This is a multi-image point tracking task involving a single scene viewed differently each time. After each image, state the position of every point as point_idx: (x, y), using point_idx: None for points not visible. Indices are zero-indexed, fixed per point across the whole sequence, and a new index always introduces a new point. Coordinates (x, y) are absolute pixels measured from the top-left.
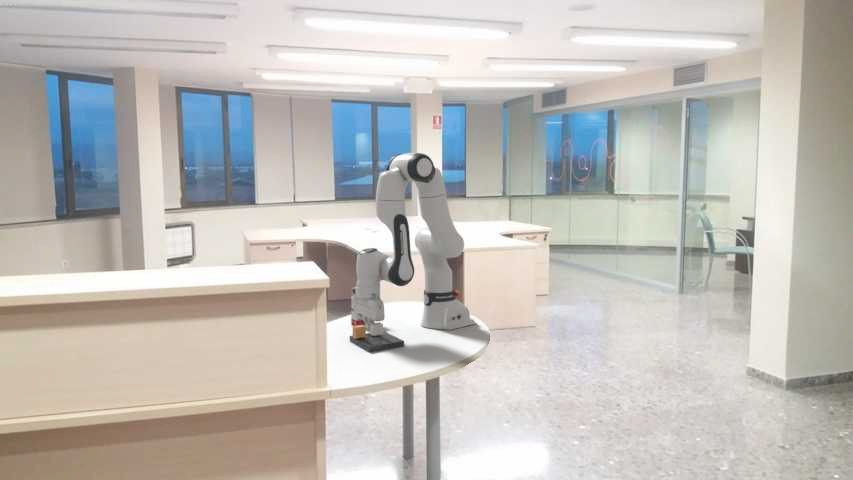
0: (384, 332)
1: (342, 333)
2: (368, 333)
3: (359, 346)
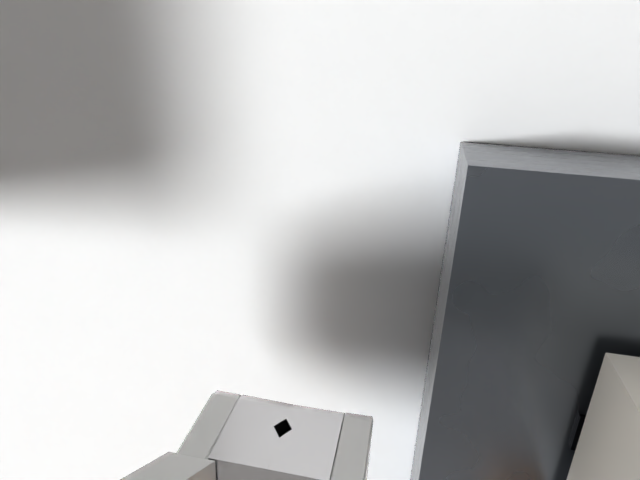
0: (591, 217)
1: (41, 470)
2: (433, 462)
3: None
